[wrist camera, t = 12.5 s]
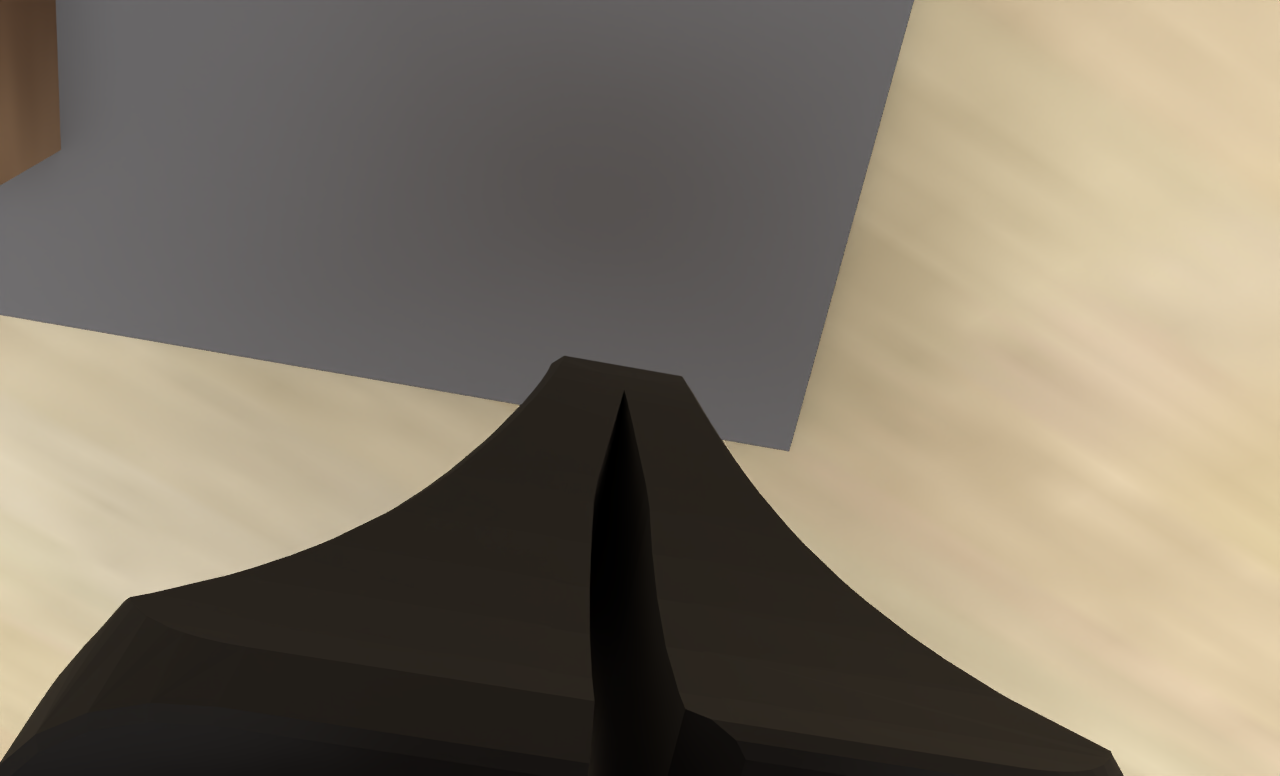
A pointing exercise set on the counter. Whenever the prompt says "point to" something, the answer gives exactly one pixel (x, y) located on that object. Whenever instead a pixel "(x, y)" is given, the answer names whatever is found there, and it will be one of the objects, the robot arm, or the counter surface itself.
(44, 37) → the letter cube
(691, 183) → the mat
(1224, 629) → the counter surface
